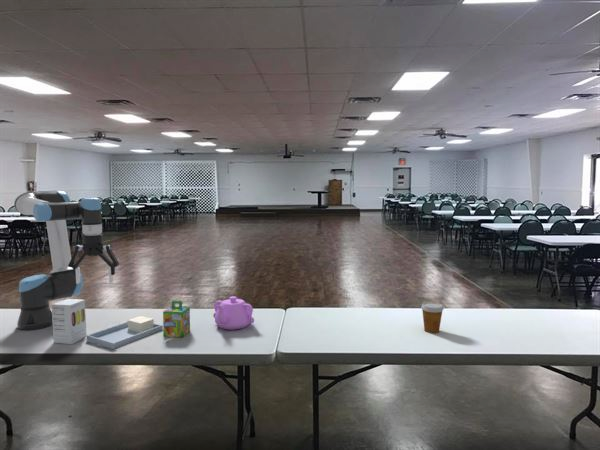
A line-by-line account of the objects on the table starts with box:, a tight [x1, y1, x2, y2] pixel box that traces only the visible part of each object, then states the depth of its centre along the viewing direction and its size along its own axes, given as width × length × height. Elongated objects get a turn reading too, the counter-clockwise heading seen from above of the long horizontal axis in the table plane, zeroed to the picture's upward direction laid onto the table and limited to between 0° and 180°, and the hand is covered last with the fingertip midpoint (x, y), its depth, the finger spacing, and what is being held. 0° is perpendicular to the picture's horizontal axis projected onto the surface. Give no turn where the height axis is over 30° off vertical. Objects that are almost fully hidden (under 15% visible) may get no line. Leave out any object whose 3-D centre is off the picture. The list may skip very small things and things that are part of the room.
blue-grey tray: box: [85, 321, 163, 350], centre depth 187 cm, size 18×25×3 cm
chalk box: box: [162, 300, 191, 339], centre depth 189 cm, size 9×9×15 cm
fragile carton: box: [127, 315, 155, 333], centre depth 194 cm, size 9×7×4 cm
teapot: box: [213, 296, 255, 331], centre depth 197 cm, size 22×22×14 cm
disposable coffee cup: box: [420, 301, 444, 334], centre depth 190 cm, size 10×10×12 cm
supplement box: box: [50, 298, 88, 345], centre depth 183 cm, size 10×9×17 cm
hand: (94, 282), depth 184 cm, fingers open, 13 cm apart
